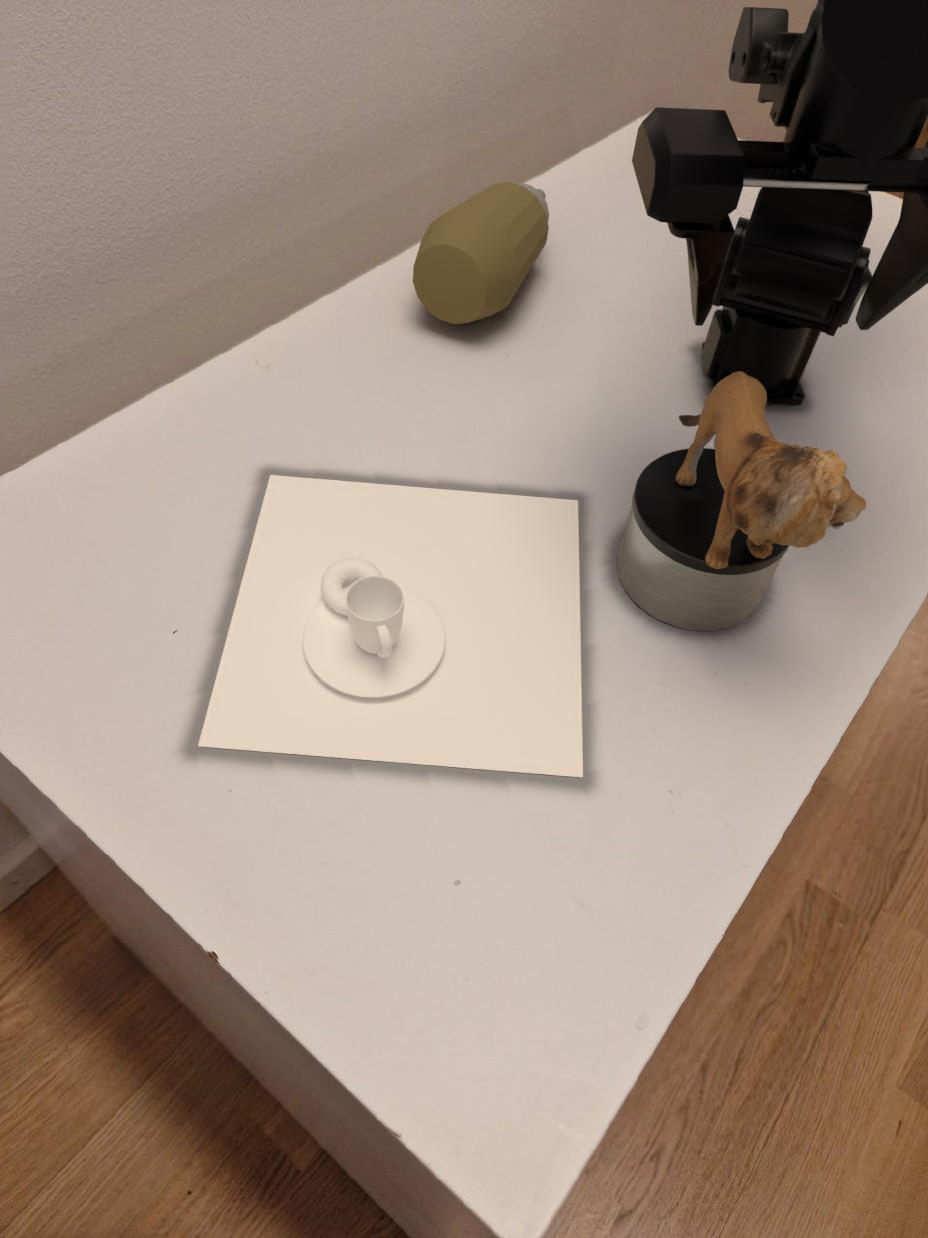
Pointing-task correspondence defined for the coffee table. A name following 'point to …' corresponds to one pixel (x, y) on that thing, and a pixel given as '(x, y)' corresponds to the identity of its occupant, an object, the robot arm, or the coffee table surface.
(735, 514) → the lion figurine
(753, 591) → the steel canister
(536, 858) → the coffee table surface
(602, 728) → the coffee table surface
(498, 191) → the squeeze bottle
